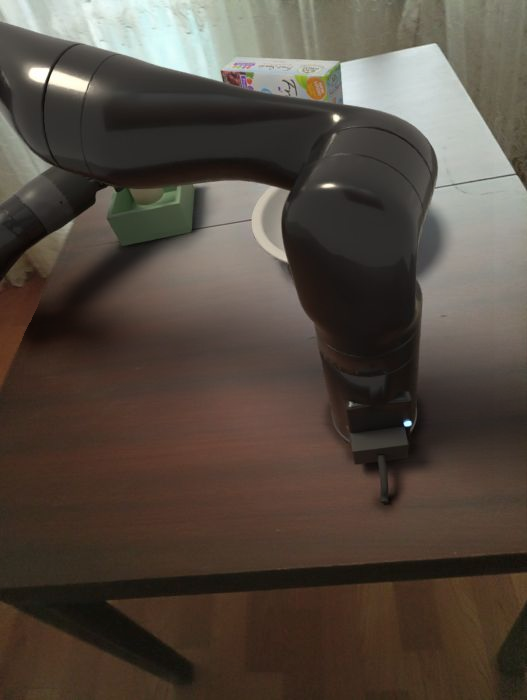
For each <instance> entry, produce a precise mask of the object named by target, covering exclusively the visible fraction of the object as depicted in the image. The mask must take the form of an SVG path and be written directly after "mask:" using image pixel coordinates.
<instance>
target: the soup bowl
mask: <svg viewBox="0 0 527 700" xmlns="http://www.w3.org/2000/svg"><path fill="white" fill-rule="evenodd" d="M289 193H290V191H287V190H284V189H281V188H277V187H273V186H269V187H268V188H267V189H266V190H265V191H264V192H263V193H262V195H260V197H259V199H258V200H257V202H256V204H255V206H254V209H253V211H252V215H251V230H252V235H253V237H254V239H255V241H256V242H257V244H258V245H259V246H260V248H261V249H262V250H263V251H264V252H265V253H267V254H268V255H269V256H271V257H273V258H275V259H276V260H277V261H280V262H282V263H283V264H284V263H285V264H287V265H289V264H288V261H287V257H286V253H285V249H284V245H283V239H282V230H281V216H282V210H283V206H284V203H285V201H286V198H287V196H288V194H289Z"/></svg>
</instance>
